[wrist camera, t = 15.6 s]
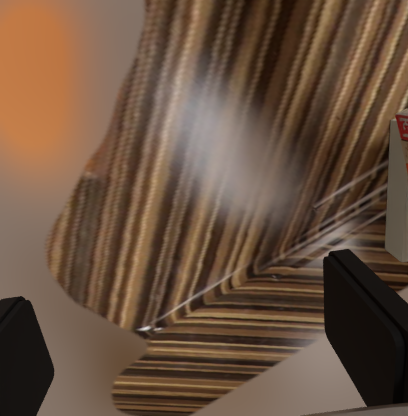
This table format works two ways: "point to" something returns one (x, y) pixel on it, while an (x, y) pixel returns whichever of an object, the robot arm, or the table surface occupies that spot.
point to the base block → (397, 199)
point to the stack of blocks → (403, 132)
